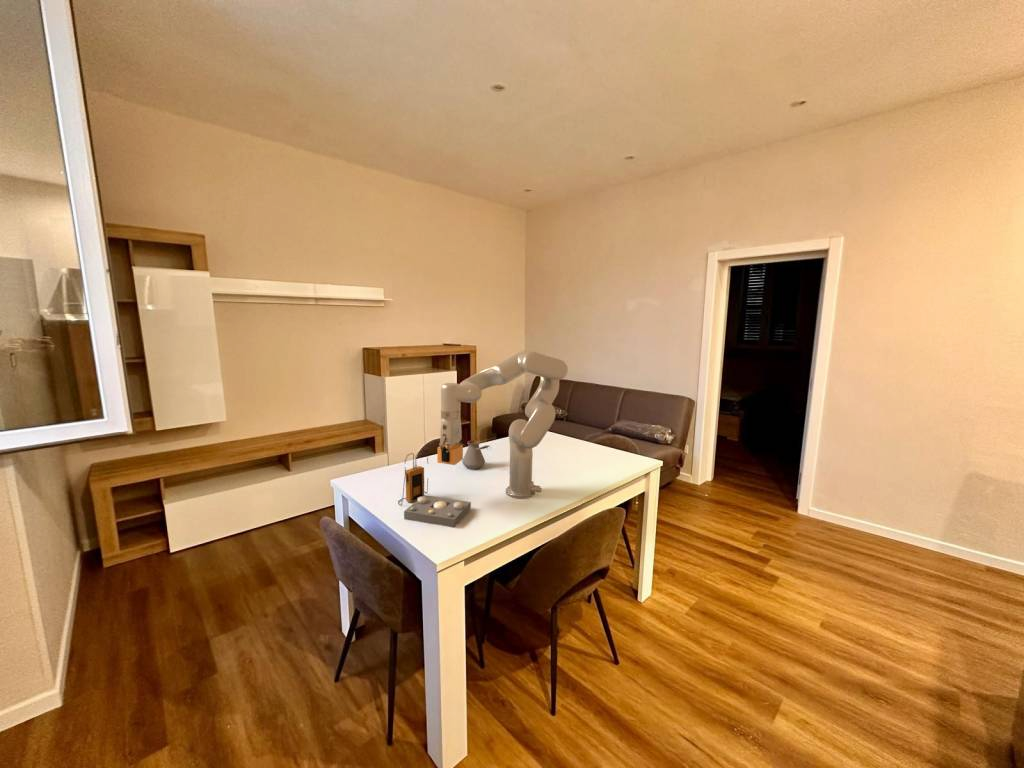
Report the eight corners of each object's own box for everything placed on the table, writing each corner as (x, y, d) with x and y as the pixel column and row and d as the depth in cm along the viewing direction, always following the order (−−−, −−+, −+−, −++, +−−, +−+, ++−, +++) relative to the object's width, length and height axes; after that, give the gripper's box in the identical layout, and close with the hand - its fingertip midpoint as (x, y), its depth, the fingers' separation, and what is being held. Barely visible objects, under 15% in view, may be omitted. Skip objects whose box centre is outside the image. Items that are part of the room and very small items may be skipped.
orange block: (462, 459, 163) (462, 444, 162) (454, 465, 156) (454, 450, 155) (446, 457, 165) (446, 442, 164) (437, 462, 158) (437, 447, 157)
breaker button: (448, 509, 155) (448, 502, 154) (443, 515, 150) (443, 507, 150) (437, 507, 156) (437, 500, 156) (431, 513, 152) (431, 505, 151)
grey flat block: (470, 509, 156) (470, 498, 156) (454, 527, 142) (454, 515, 141) (424, 502, 162) (424, 491, 161) (404, 519, 147) (403, 507, 147)
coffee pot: (458, 465, 205) (458, 436, 203) (478, 461, 211) (478, 433, 209) (478, 479, 187) (478, 447, 185) (499, 474, 193) (499, 444, 191)
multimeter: (416, 488, 175) (416, 443, 172) (431, 495, 169) (431, 448, 166) (387, 499, 164) (385, 451, 161) (402, 506, 158) (401, 457, 155)
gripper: (449, 420, 148) (448, 466, 151) (468, 411, 165) (468, 453, 167) (431, 418, 151) (430, 464, 153) (452, 409, 167) (451, 451, 169)
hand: (450, 458), depth 160 cm, fingers closed on orange block, 7 cm apart
